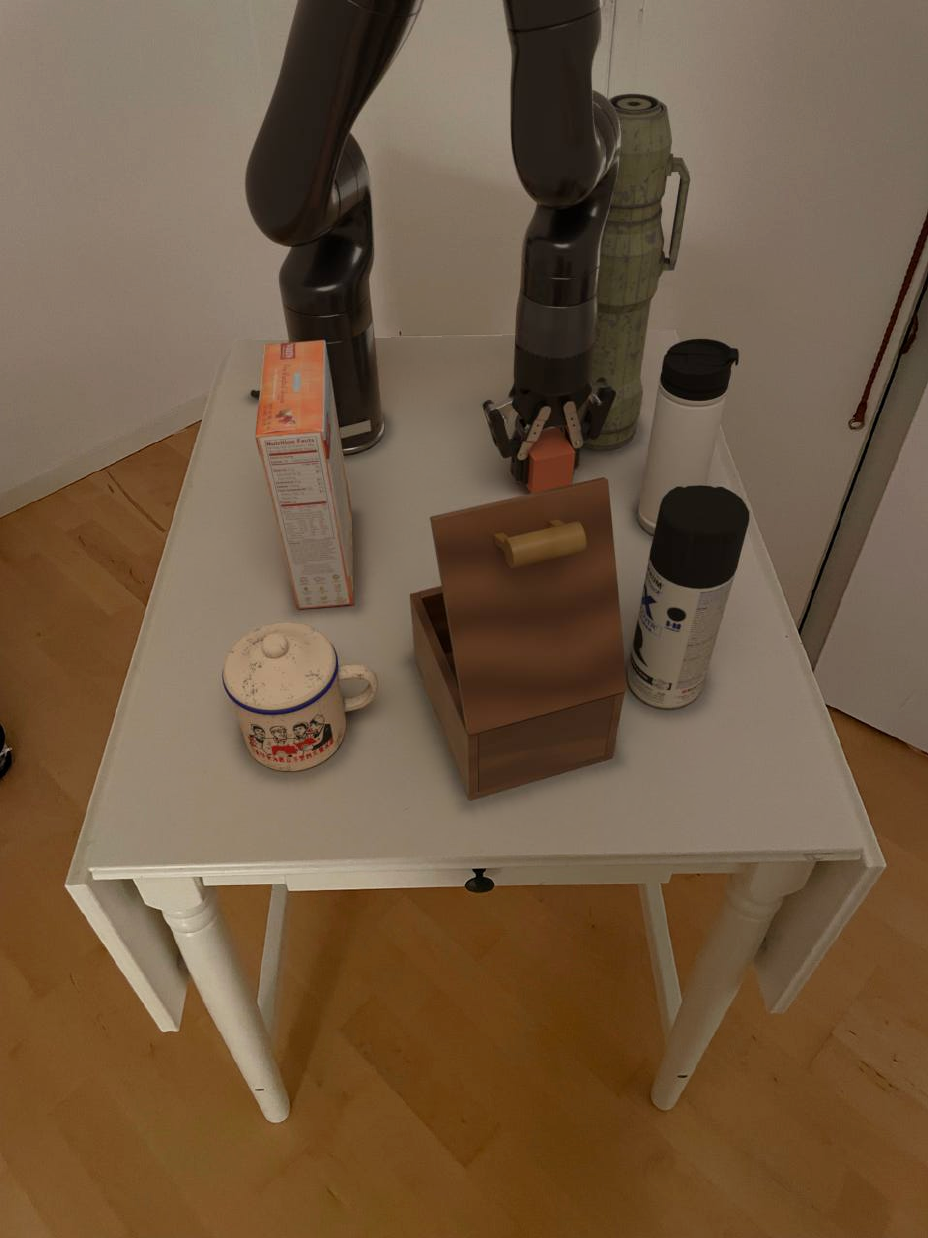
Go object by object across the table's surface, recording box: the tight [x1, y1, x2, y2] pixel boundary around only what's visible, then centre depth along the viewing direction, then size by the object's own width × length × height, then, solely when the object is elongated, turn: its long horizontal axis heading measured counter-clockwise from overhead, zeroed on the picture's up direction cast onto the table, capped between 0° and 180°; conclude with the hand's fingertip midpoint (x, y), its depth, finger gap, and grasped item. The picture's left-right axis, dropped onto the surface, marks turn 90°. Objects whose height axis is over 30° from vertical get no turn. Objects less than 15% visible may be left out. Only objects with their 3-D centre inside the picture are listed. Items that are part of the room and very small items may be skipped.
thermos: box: [561, 93, 691, 452], centre depth 95 cm, size 9×12×35 cm
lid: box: [429, 476, 628, 735], centre depth 63 cm, size 16×13×5 cm
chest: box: [409, 585, 625, 801], centre depth 77 cm, size 16×13×9 cm
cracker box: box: [254, 340, 355, 610], centre depth 85 cm, size 14×6×21 cm, turn 5°
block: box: [525, 426, 575, 494], centre depth 97 cm, size 5×5×5 cm
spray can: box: [627, 485, 751, 710], centre depth 74 cm, size 7×7×20 cm
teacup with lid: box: [221, 622, 379, 772], centre depth 74 cm, size 12×9×12 cm
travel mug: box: [637, 338, 740, 536], centre depth 89 cm, size 6×7×20 cm
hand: (543, 475), depth 99 cm, fingers closed on block, 4 cm apart
